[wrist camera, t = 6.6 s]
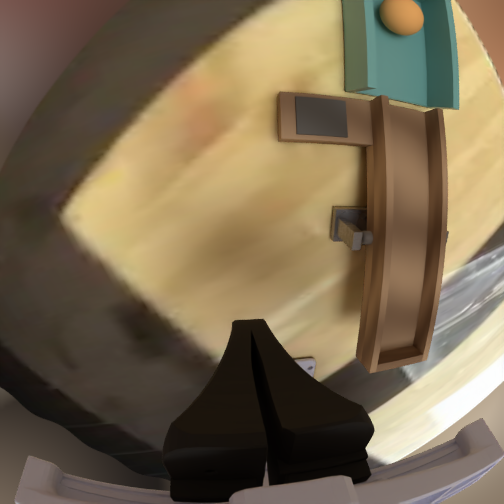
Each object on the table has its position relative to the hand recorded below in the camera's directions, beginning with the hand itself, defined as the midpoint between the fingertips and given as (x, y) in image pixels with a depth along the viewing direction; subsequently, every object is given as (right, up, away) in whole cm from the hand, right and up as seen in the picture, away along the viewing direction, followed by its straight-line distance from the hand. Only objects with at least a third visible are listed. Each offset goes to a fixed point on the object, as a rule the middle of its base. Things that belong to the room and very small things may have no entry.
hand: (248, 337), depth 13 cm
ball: (+10, +20, +1) cm, 22 cm away
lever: (+8, +5, +6) cm, 11 cm away
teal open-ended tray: (+10, +19, +3) cm, 22 cm away
